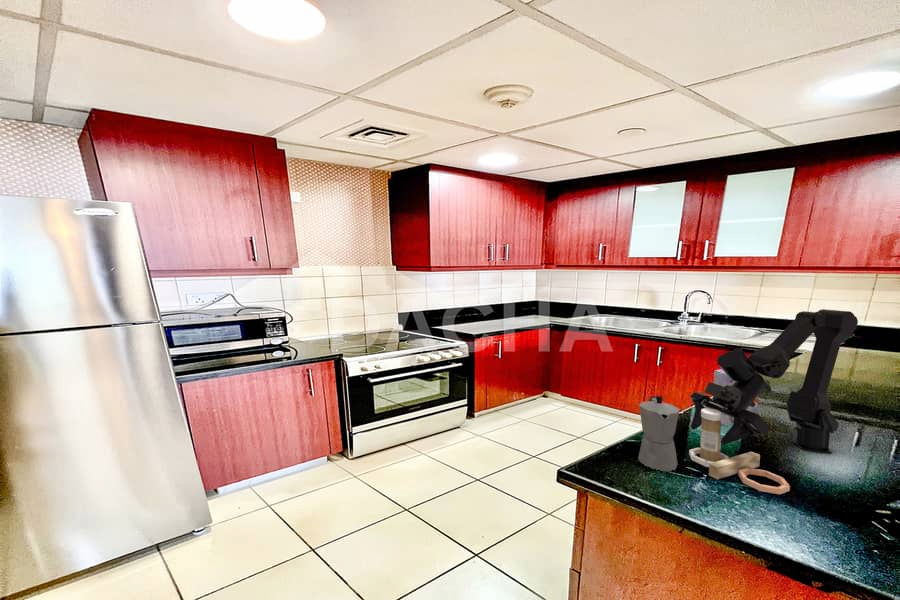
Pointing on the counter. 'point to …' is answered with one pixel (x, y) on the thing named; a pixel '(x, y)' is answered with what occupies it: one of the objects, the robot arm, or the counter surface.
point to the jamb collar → (702, 461)
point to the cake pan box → (724, 380)
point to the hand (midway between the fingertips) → (706, 435)
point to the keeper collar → (764, 488)
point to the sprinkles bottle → (710, 434)
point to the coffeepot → (658, 434)
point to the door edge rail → (733, 465)
